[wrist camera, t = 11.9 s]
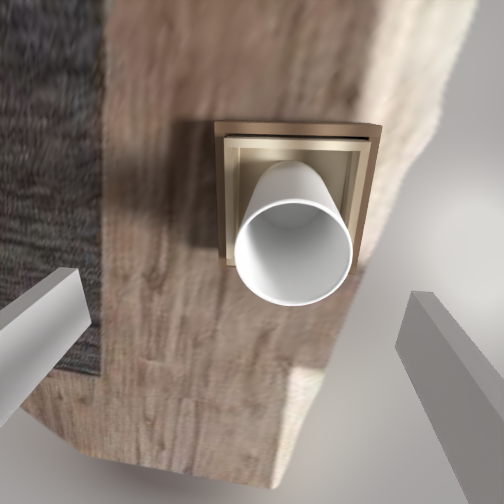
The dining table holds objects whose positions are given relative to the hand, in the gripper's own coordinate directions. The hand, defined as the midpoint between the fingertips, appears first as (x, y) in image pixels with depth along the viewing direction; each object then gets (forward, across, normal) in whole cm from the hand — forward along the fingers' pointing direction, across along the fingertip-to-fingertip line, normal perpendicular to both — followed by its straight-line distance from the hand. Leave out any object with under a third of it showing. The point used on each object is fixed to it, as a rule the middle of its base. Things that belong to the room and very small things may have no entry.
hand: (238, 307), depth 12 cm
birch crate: (+26, +3, -2) cm, 26 cm away
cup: (+25, +3, -2) cm, 25 cm away
